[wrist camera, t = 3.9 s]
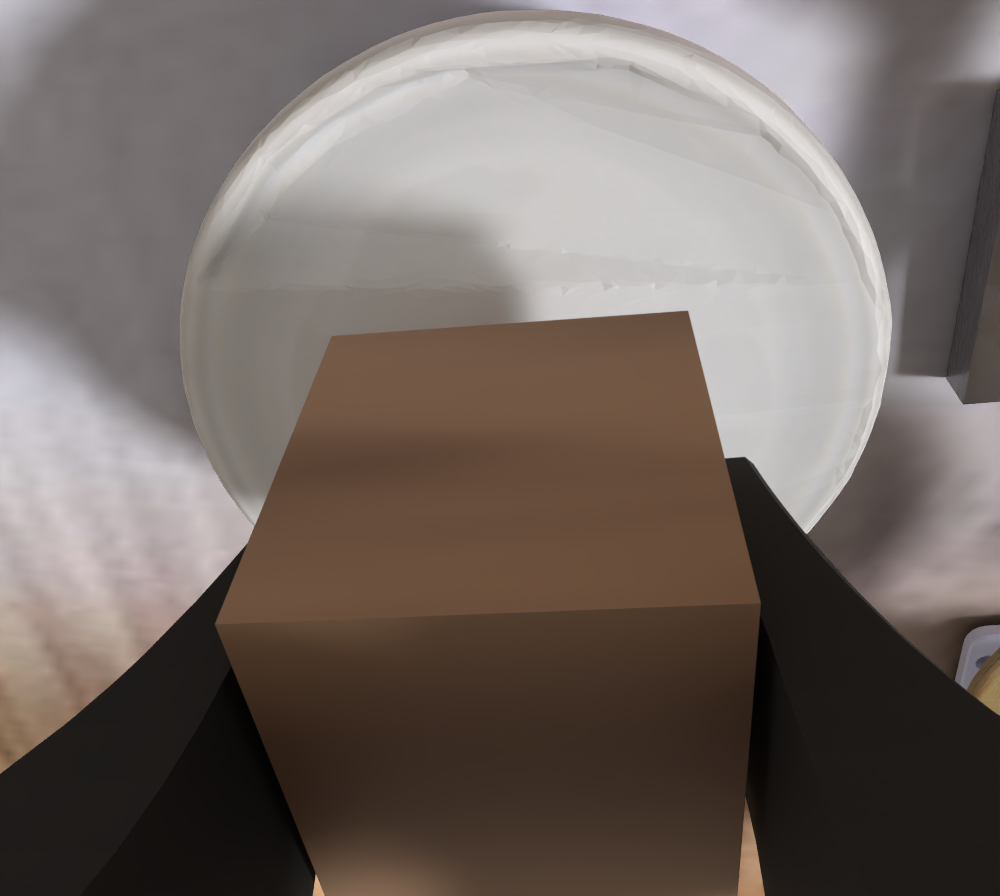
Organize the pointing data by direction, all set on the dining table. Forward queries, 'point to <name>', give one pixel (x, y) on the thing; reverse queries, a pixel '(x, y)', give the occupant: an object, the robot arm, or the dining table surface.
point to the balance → (982, 337)
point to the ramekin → (542, 235)
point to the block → (505, 616)
